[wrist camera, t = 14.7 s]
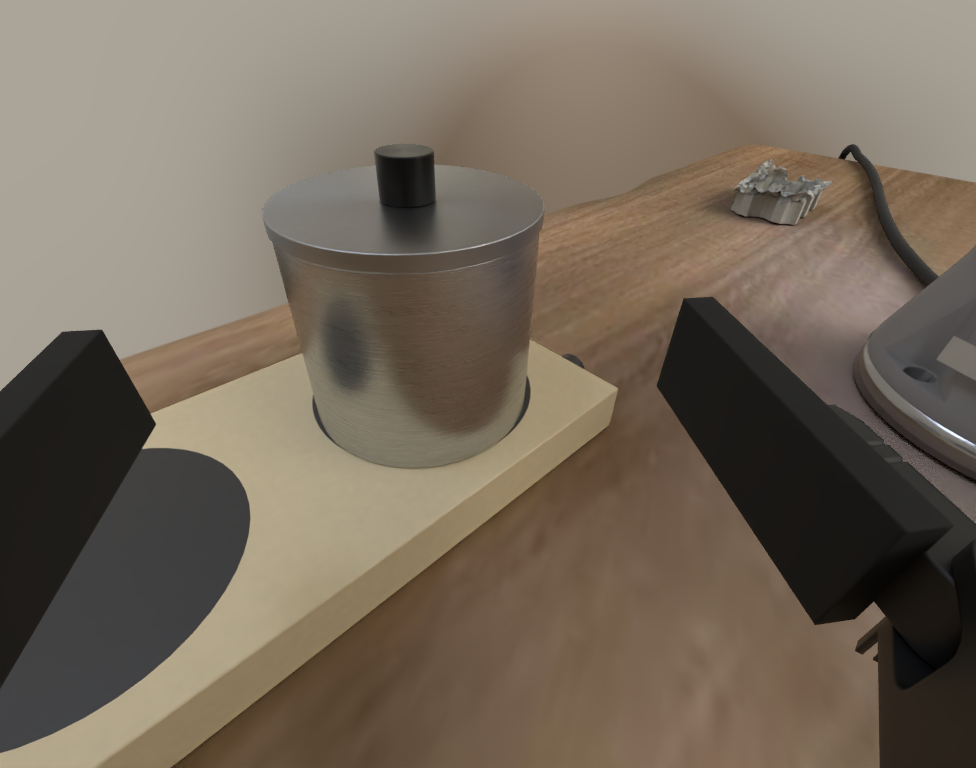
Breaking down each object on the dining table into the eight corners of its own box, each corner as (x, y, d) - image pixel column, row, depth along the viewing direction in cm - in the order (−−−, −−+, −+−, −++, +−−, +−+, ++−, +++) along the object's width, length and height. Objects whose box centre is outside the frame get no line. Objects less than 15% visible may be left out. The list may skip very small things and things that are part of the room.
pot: (448, 318, 28) (441, 115, 21) (569, 404, 22) (611, 160, 15) (283, 380, 23) (208, 140, 16) (382, 512, 17) (327, 221, 11)
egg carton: (757, 193, 58) (771, 157, 55) (824, 208, 54) (842, 170, 51) (719, 211, 52) (732, 171, 50) (791, 230, 48) (809, 188, 45)
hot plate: (462, 321, 33) (461, 288, 31) (620, 416, 25) (630, 379, 24) (-160, 601, 17) (-225, 561, 15) (-216, 1072, 9) (-353, 1090, 8)
